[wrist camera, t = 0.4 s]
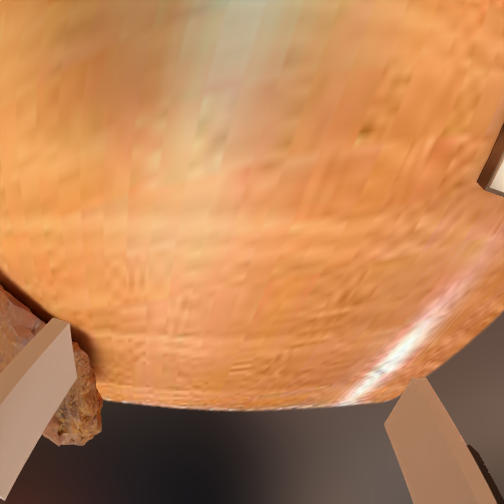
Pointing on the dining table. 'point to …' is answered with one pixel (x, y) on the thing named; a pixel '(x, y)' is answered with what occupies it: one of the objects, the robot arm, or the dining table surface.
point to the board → (494, 169)
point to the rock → (80, 394)
